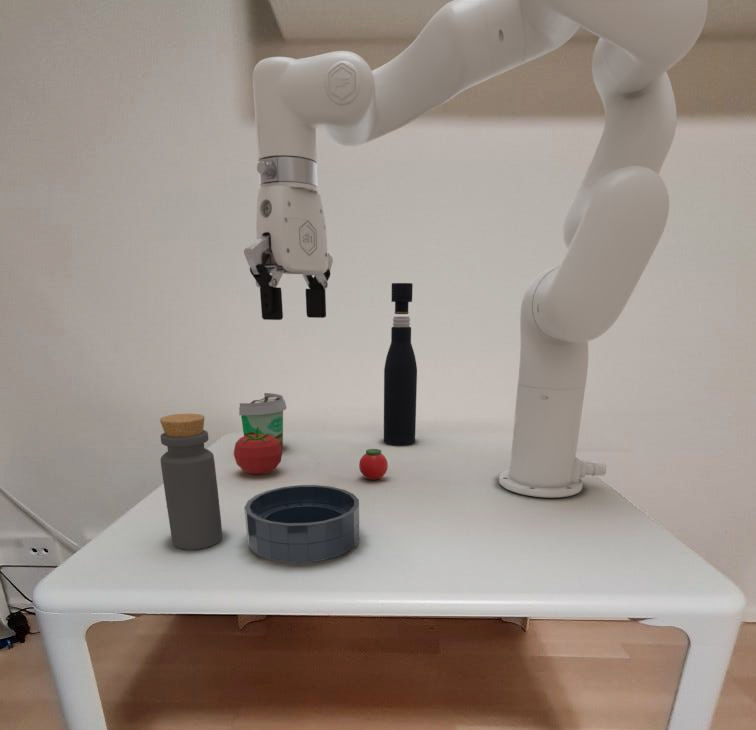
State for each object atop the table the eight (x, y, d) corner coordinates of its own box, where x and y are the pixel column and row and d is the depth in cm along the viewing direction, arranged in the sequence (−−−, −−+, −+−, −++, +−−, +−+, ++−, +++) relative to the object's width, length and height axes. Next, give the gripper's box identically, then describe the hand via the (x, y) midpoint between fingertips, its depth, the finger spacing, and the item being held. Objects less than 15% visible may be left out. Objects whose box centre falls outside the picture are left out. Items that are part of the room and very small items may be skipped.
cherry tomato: (386, 474, 90) (387, 446, 89) (388, 483, 86) (388, 454, 84) (359, 474, 90) (358, 447, 89) (359, 483, 86) (359, 454, 84)
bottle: (204, 526, 70) (190, 410, 64) (232, 538, 66) (220, 416, 61) (162, 541, 66) (143, 418, 60) (190, 554, 62) (172, 425, 57)
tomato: (292, 473, 91) (289, 428, 88) (249, 483, 86) (245, 435, 83) (268, 463, 96) (265, 420, 94) (227, 471, 92) (223, 426, 89)
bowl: (359, 520, 72) (358, 484, 70) (359, 566, 59) (359, 524, 58) (258, 521, 71) (255, 485, 70) (238, 568, 59) (234, 525, 57)
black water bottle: (389, 446, 107) (390, 282, 96) (379, 439, 113) (380, 283, 102) (419, 444, 109) (424, 283, 98) (409, 437, 114) (412, 283, 104)
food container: (274, 460, 98) (271, 405, 94) (243, 458, 99) (238, 403, 96) (297, 443, 109) (295, 393, 106) (269, 441, 110) (265, 392, 107)
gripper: (265, 163, 62) (275, 321, 68) (349, 187, 76) (351, 317, 82) (218, 170, 66) (231, 320, 72) (306, 192, 79) (311, 316, 86)
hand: (295, 318), depth 77 cm, fingers open, 9 cm apart
